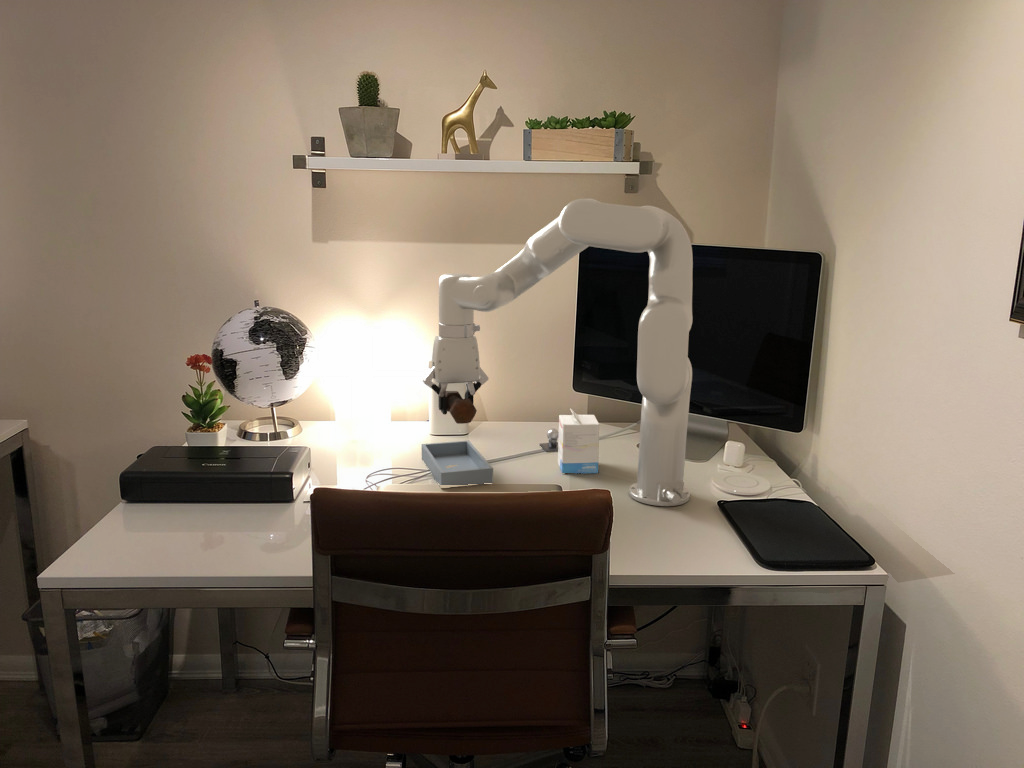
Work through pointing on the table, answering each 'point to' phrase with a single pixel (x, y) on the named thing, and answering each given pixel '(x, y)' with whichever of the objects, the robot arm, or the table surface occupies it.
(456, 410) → the bolt
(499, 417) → the table surface
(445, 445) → the parts tray
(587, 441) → the ink box
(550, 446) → the ball stud
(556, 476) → the table surface
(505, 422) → the table surface
